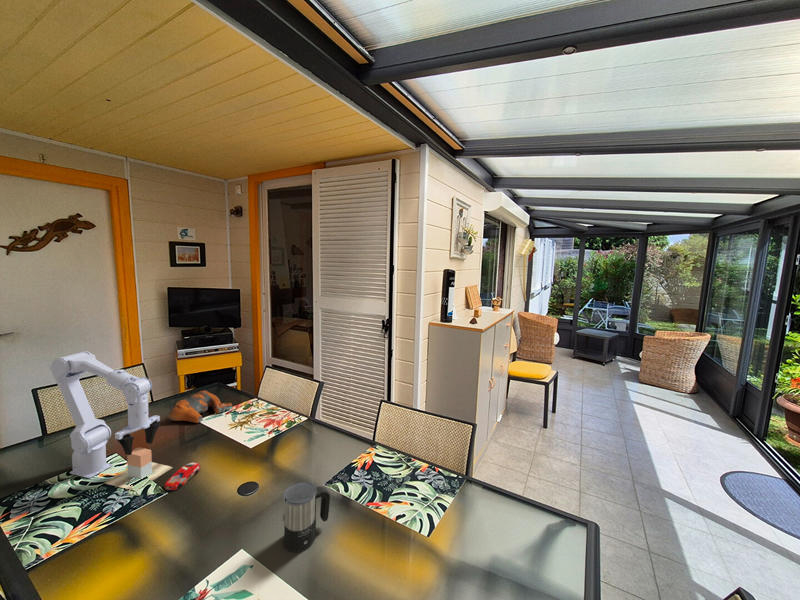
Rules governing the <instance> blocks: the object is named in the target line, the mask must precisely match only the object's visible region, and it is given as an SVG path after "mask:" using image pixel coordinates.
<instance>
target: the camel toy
mask: <svg viewBox="0 0 800 600" xmlns="http://www.w3.org/2000/svg"><path fill="white" fill-rule="evenodd" d="M209 408H212V409H213V411H214V414H215V413H218V414H220V413H221V412H222V413H225V412H226V411H225V410H228V409H231V408H232V409H233V404H232V402H227V403H226V402H224V403H222V402H221V400H220V398H219V397H218V396H217V395H216V394H213V393H211V392H209V391H207V390H200V391H198V392H196V393H194V394H192V395H190V396H189V397H186V398H184V399H181V400H178V401H176V402H175V405H174V406H173V407H172V408H171V410H170V411H169V413H168V414H167V417H166V418H167V419H168V420H170V421H175V422H177V423H178V422H181V421H182V422H183V421H184V422H190V423H196V424H198V423H201V422H202V421H203V416H202V415H201V413H205V412H207V411H208V409H209ZM232 409H231V410H232ZM228 411H229V410H228Z"/></svg>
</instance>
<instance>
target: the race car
mask: <svg viewBox="0 0 800 600" xmlns="http://www.w3.org/2000/svg"><path fill="white" fill-rule="evenodd" d="M200 471H201V465H200V463H199V462H195V461H194V462H190V463H187V464H185V465H183V466H181V467H180V468H179V469H178V470H177V471H175V473H172V476H171V477H170V478H169V479H167V480H166V482H165V483H164V485H163V487H164V489H165V491H169V492H170V491H171V492H172V491H176V490H180V489H181V488H182V486H184V485H185V484H186V483H188V481H190V480H191V479H192V478H194V477H195V476H196V475H197V474H199V472H200Z"/></svg>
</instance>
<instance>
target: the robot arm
mask: <svg viewBox="0 0 800 600" xmlns="http://www.w3.org/2000/svg"><path fill="white" fill-rule="evenodd" d="M49 369H50V371H51V374H52V376H53V378H54V380H55V383H56V384H57V387H58V389H59V391H60V393H61V396H62V397H63V400H64V402H65V404H66V406H67V409H68V412H69V413H70V416H71V418H72V421H73V422H74V425H75V426H74V427H75V428H74V429H73V431H72V432H71V433H70V435H69V437H70V442H71V445H70V446H71V449H72V450H73V452H72V455H71V461H72V470H71V471H70V472H69V474H70V475H74V476H79V477H81V478H82V477H83V478H85V479H91V478H93V477H94V476H97V475H99V474H100V473H102V472H105V471H106V470H108V469H110V468H111V467H113V465H114V464H112V463H108V462H107V452H106V451H107V447H106V445H107V443H108V440H109V439H110V438H111V436H112V430H111V428H110V427H109V425H108V424H106V422H105V420H104V419H98V418H96V416H95V414H94V412H93V409H92V407H91V405H90V402H89V401H88V398H87V396H86V393H85V391H84V389H83V387H82V386H83V385H82V384H81V381H80V379H81V377H82V376H83V374H85V373H86V372H87V373H90V374H92V375H95V376H98V377H100V378H103V379H105V381H106V384H108V385H109V386H111V387H113V388H115V389H118V390H120V391H121V393H122V395H123V396H124V397H125V402H126V403H127V422H128V423H127V424H128V425H127V426H125V427H124V428H122V429H121V430H119V431H117V432H116V433H114V439H115V440H117V442H118V443H119V444H120V446H121V447H122V450H123V452H124V455H131V454H132V450H133V444H134V439H135V437H134V436H131V435H130V434H133V433H135V432H138V431H140V430H144V433H145V442H146V444H150V445H152V444H153V443H154V442H153V441H154V439H155V436H156V433H157V431H158V430H159V427H160V426H161V425H160V421H161V417H160V415H156V414H155V415H152V416H150V417H149V392H150V391H151V390H152V389H153V384H152V381H151V380H150V379H149V378H148V377H146V376H142V377H137V376H135V375H133V374H130V373H129V372H127V371H126V370H124V369H113V368H111V367H109V366H108V365H106V364H104V363H102V362H101V361H100V360H97V358H96V356H95V354H93V353H91V352H90V351H85V350H84V351H81V352H77V353H73V354H70V355H66V356H60V357H56V358H55V359H53V360H52V362H51V365H49Z"/></svg>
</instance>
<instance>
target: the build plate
mask: <svg viewBox="0 0 800 600" xmlns="http://www.w3.org/2000/svg"><path fill="white" fill-rule="evenodd" d="M173 468H174V467H173V466H171V465H165V464H161V463H158V462H153V461H152V473H151V474H149V475H148V476H147V477H148V479H150V480H151V482H153V481H155V480H157V479H158V478H159V477H160V476H162V475H164V474H166V473H167V472H168V471H170V470H172V469H173ZM132 478H133V477H129V476H128V468H127V469H125V470H124V471H123V472H121V473H119V474H117V475H115V476H114V477H111V478H109V479H108V480H107V481H105V482H104V484H106V485H110V486H114V487H117V488H121V489H124V488H125V489H124V490H128V489H129V491H131V489H133V488H132V487H134V486H133V485H131V484H129V485H126V484H127V483H126V482H129V481H130V480H131V479H132ZM131 481H133V480H131ZM130 485H131V486H130ZM132 492H135V491H134V490H133V491H132Z"/></svg>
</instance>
